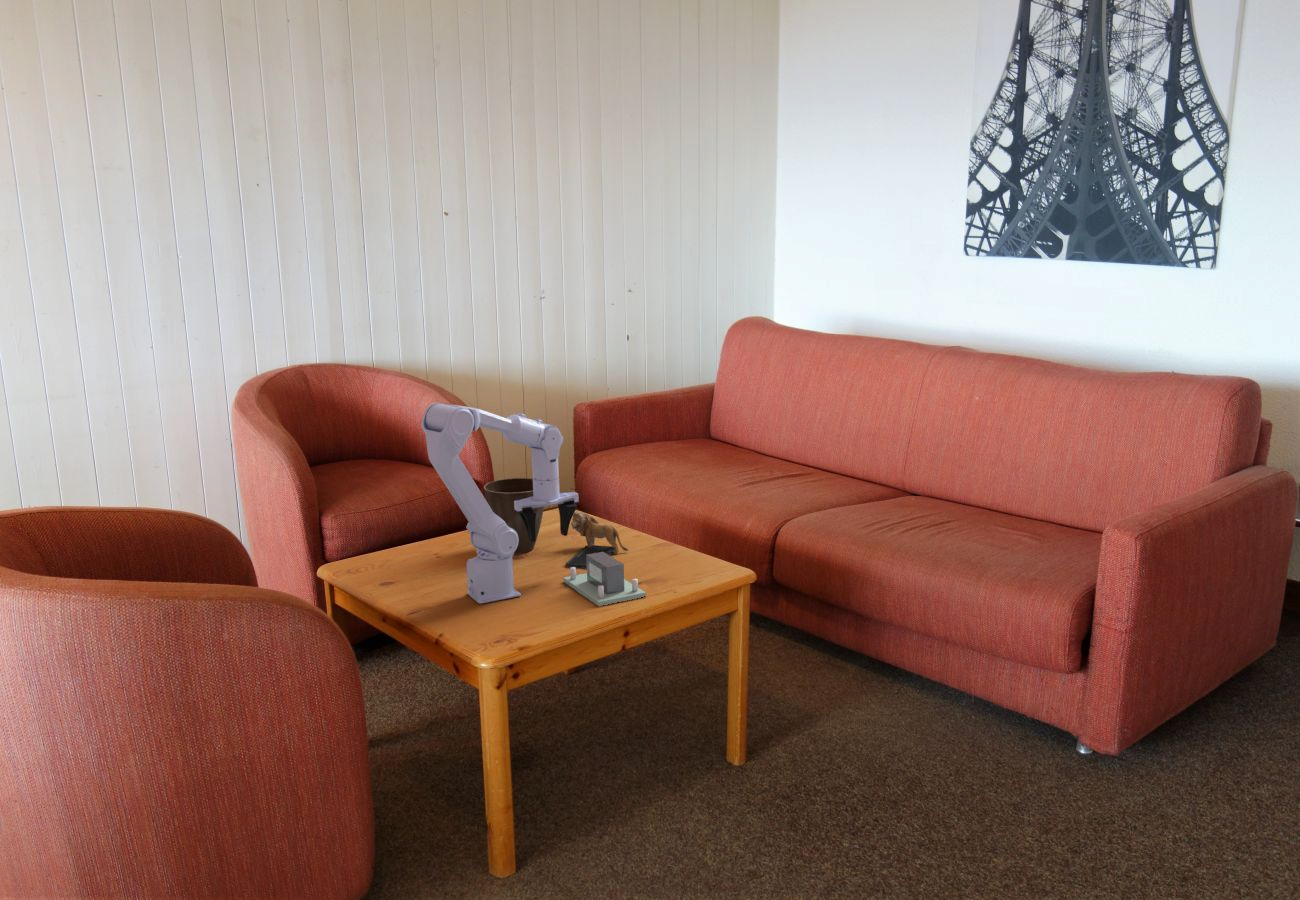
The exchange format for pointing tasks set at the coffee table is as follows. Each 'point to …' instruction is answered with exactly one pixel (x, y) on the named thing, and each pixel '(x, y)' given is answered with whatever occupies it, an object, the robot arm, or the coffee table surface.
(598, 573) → the block
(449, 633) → the coffee table surface
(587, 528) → the lion figurine
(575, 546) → the coffee table surface
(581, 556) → the phone
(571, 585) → the pin tray
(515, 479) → the plant pot
